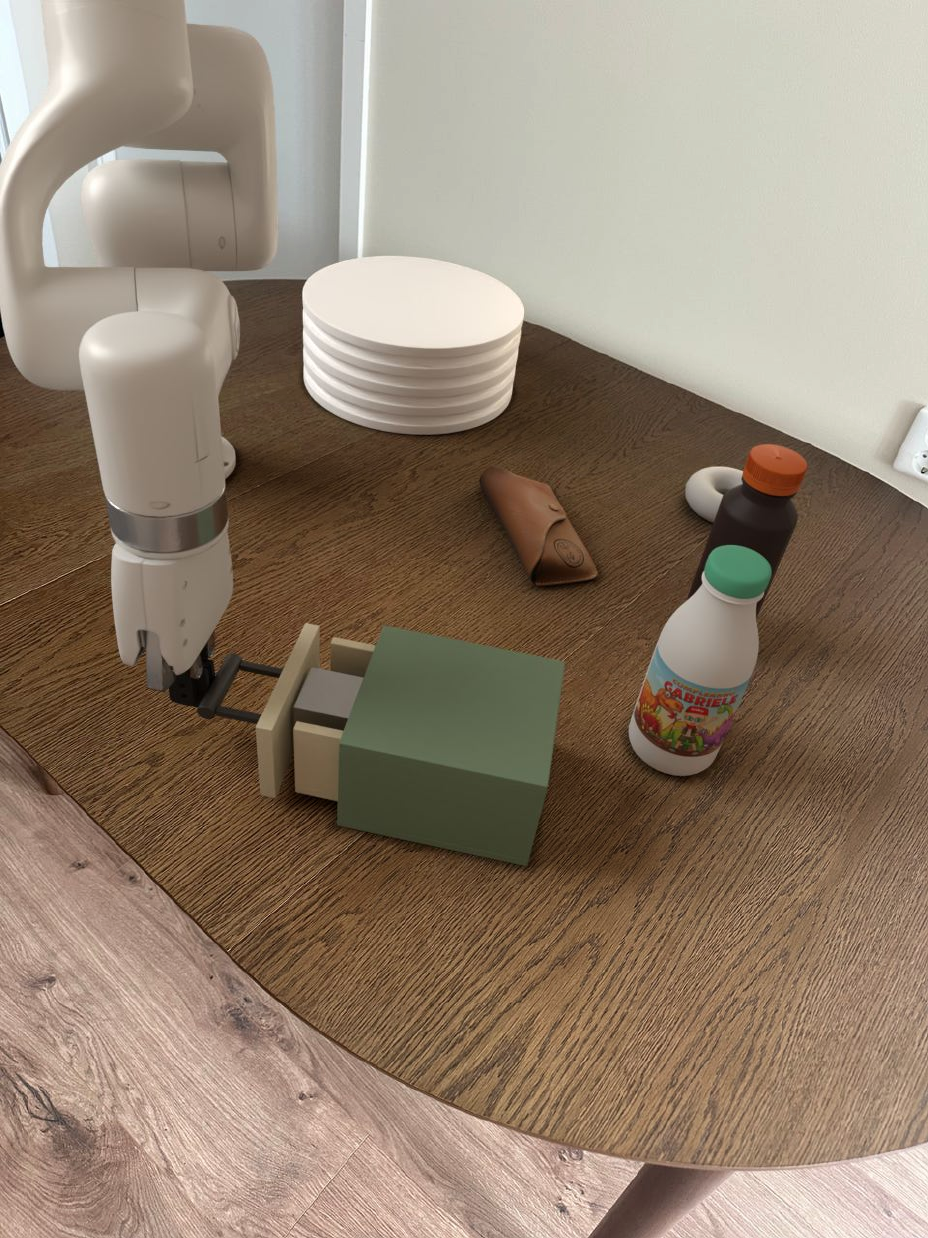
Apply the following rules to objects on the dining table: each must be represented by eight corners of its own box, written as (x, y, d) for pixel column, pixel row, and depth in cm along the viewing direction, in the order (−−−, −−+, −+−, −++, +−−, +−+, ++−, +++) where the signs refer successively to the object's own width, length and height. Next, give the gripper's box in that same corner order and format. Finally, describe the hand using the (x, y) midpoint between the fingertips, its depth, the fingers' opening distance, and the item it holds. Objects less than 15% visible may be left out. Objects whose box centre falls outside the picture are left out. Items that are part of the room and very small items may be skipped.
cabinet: (337, 825, 69) (338, 743, 62) (378, 707, 78) (383, 624, 72) (526, 867, 68) (548, 787, 61) (545, 741, 77) (565, 661, 71)
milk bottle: (618, 710, 81) (676, 528, 68) (701, 710, 82) (774, 531, 69) (637, 779, 75) (705, 595, 62) (726, 779, 76) (811, 598, 63)
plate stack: (393, 317, 137) (398, 240, 130) (550, 383, 126) (565, 303, 119) (258, 377, 119) (254, 291, 111) (427, 460, 108) (436, 371, 101)
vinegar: (665, 616, 91) (723, 443, 78) (720, 604, 94) (785, 433, 80) (703, 662, 87) (771, 486, 74) (760, 647, 89) (836, 474, 76)
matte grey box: (294, 754, 71) (293, 706, 67) (311, 714, 74) (311, 666, 71) (374, 771, 70) (377, 724, 67) (387, 730, 74) (391, 682, 70)
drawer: (188, 779, 69) (177, 710, 64) (242, 677, 78) (236, 608, 73) (433, 832, 68) (443, 766, 63) (461, 722, 77) (471, 656, 72)
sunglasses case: (605, 576, 94) (586, 534, 90) (546, 608, 95) (523, 569, 90) (545, 480, 107) (525, 439, 102) (492, 509, 108) (470, 470, 103)
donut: (762, 543, 103) (769, 497, 110) (772, 519, 101) (779, 473, 108) (675, 519, 105) (688, 475, 112) (683, 495, 102) (696, 451, 109)
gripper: (163, 441, 66) (187, 628, 78) (55, 563, 54) (103, 760, 67) (263, 460, 65) (272, 646, 77) (174, 588, 54) (201, 782, 66)
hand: (194, 698), depth 72 cm, fingers closed
